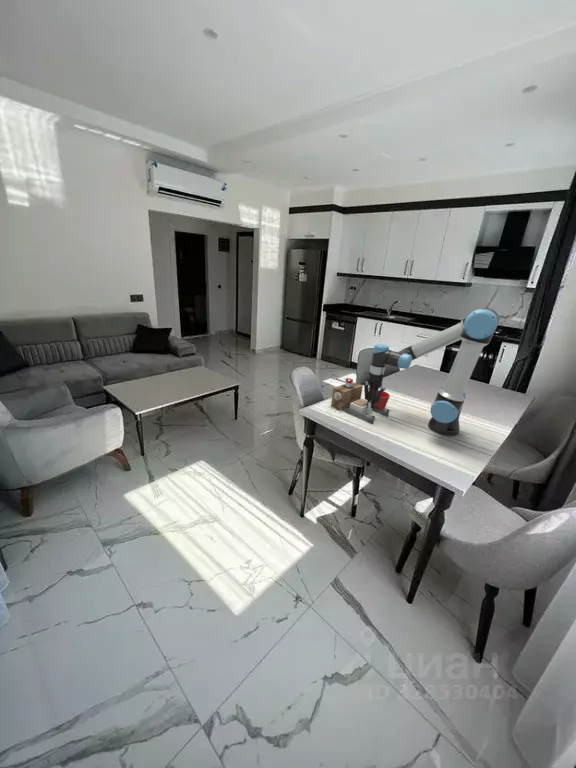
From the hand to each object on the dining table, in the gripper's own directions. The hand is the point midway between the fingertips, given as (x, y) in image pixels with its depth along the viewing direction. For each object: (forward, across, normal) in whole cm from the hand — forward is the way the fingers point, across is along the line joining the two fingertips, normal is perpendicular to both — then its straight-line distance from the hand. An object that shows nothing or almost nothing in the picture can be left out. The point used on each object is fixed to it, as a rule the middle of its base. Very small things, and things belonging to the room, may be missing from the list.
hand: (369, 412), depth 176 cm
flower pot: (+2, +2, -13) cm, 13 cm away
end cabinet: (+2, +16, 0) cm, 17 cm away
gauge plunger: (-7, +16, 0) cm, 18 cm away
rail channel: (+2, +2, 0) cm, 3 cm away
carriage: (+2, +6, 0) cm, 6 cm away
